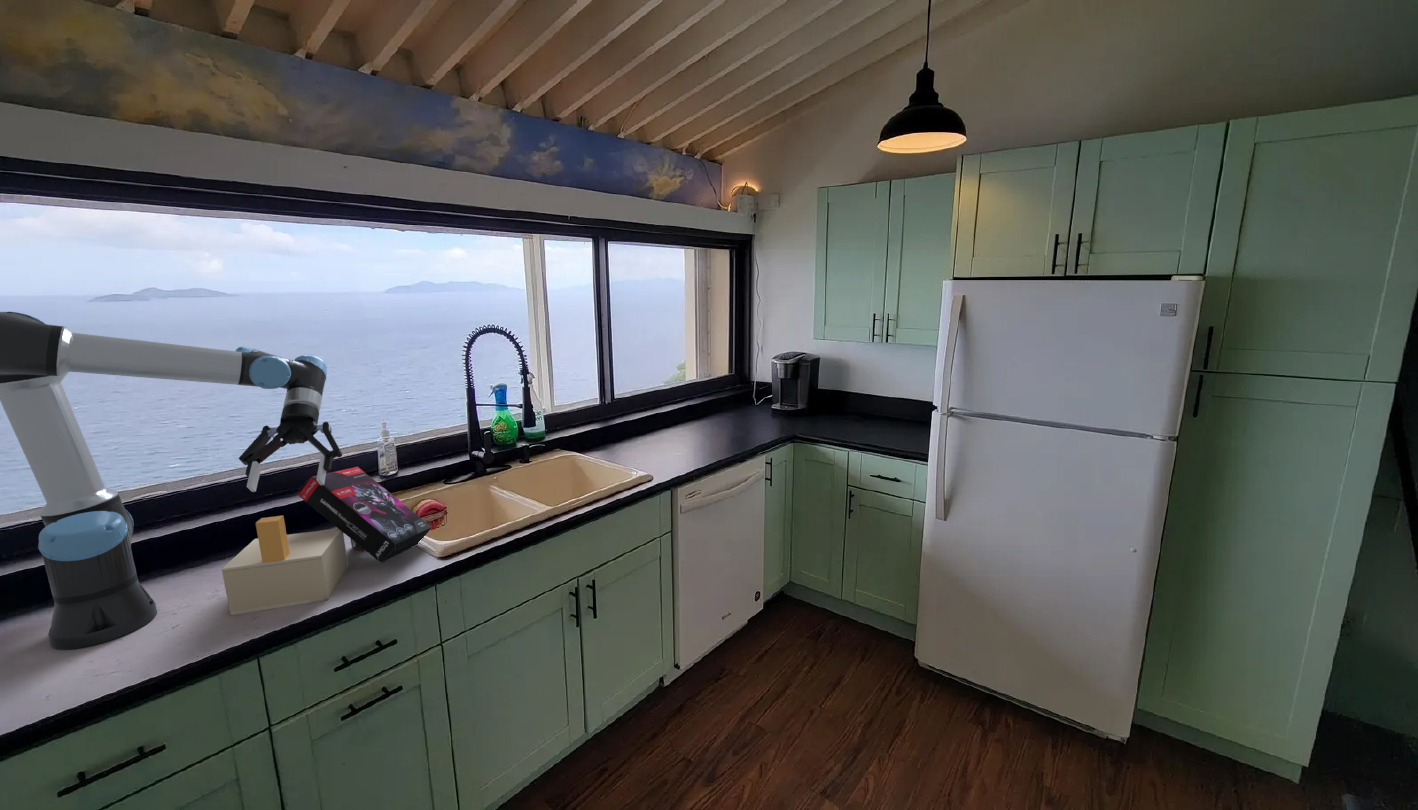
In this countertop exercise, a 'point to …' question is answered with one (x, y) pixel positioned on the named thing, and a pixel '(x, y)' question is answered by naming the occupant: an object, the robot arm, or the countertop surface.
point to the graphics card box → (365, 512)
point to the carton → (286, 582)
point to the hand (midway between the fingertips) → (286, 485)
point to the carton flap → (281, 545)
